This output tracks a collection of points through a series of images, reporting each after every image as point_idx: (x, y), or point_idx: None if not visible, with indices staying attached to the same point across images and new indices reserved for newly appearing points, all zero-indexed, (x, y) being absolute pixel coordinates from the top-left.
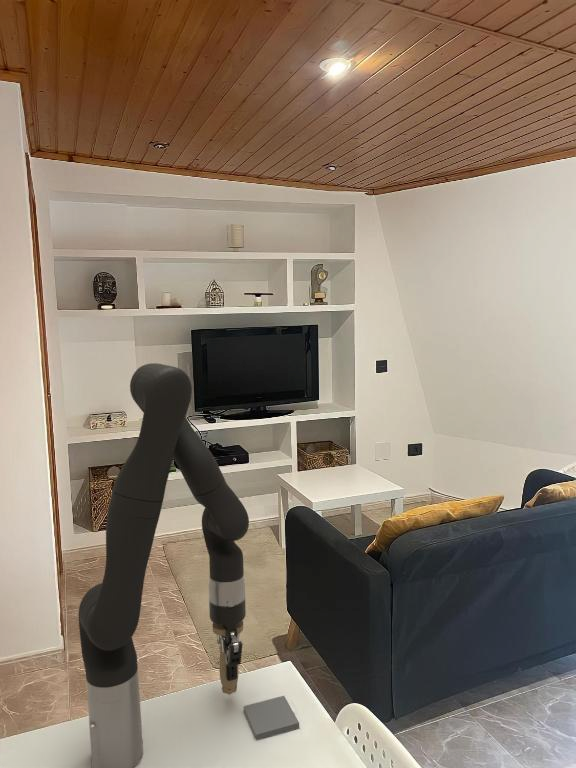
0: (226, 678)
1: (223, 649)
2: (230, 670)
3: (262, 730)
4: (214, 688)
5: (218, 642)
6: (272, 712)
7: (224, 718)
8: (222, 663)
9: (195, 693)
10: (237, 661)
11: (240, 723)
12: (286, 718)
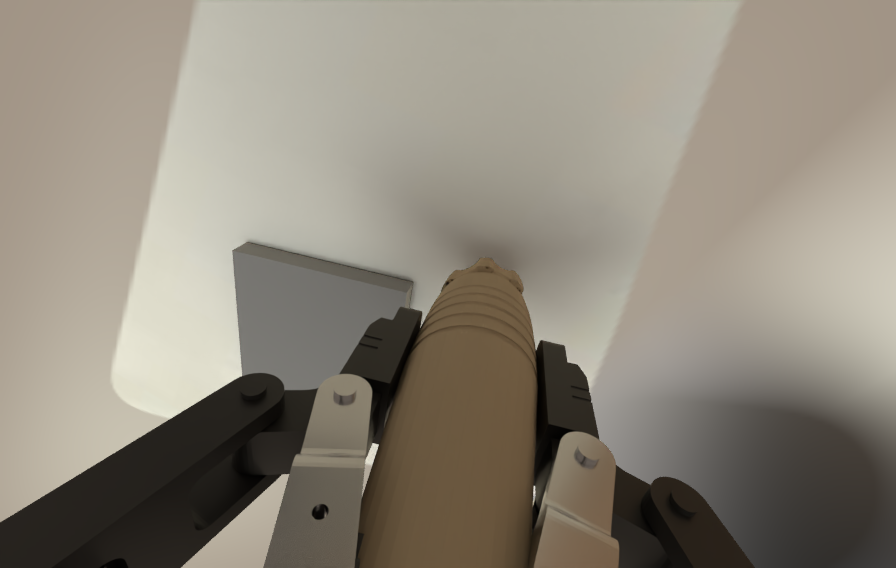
0: (434, 311)
1: (285, 492)
2: (349, 362)
3: (247, 280)
4: (636, 255)
5: (656, 494)
6: (321, 353)
7: (414, 199)
8: (434, 361)
9: (676, 158)
10: (231, 455)
11: (355, 239)
12: (276, 370)
